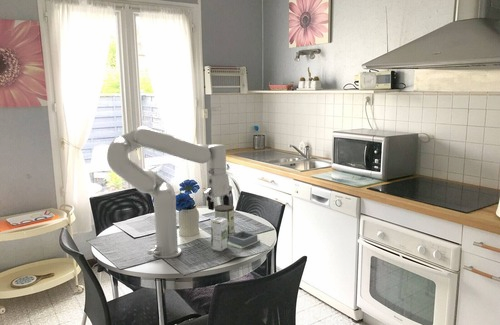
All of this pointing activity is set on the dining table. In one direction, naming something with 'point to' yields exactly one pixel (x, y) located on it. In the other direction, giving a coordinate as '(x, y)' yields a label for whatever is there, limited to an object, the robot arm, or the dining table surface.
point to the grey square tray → (243, 242)
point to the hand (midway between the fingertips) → (218, 207)
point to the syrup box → (219, 234)
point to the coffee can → (226, 216)
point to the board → (239, 245)
